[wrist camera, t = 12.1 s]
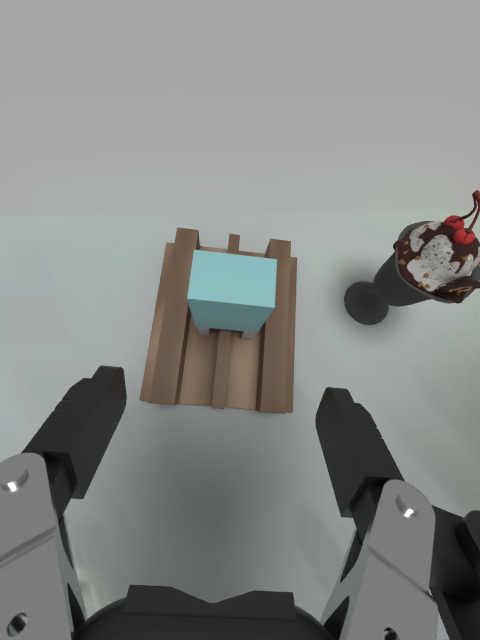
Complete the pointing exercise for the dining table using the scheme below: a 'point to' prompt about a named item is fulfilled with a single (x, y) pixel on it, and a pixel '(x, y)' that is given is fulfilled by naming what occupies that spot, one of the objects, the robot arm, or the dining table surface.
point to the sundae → (422, 269)
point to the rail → (220, 340)
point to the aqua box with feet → (231, 292)
